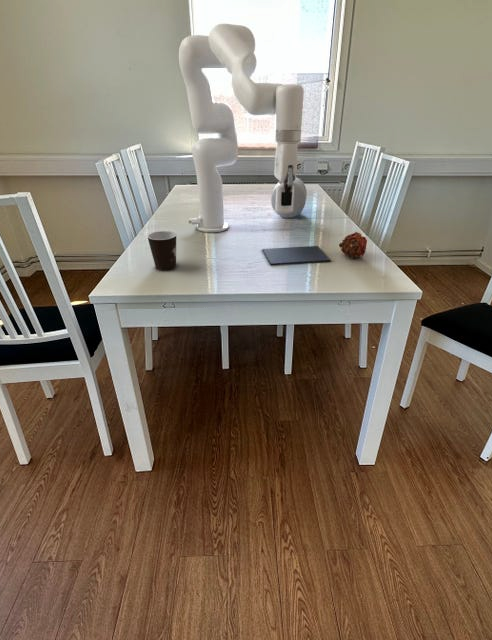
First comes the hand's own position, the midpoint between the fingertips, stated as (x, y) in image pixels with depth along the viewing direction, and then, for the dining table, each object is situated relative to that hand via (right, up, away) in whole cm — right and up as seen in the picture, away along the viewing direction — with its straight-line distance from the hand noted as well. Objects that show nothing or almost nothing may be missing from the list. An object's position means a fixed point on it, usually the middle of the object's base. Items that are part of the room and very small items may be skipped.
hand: (284, 203), depth 123 cm
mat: (+4, -14, +10) cm, 18 cm away
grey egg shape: (+4, +18, +57) cm, 60 cm away
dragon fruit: (+24, -14, +10) cm, 29 cm away
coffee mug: (-37, -19, +2) cm, 41 cm away
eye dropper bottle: (0, -2, +2) cm, 3 cm away
